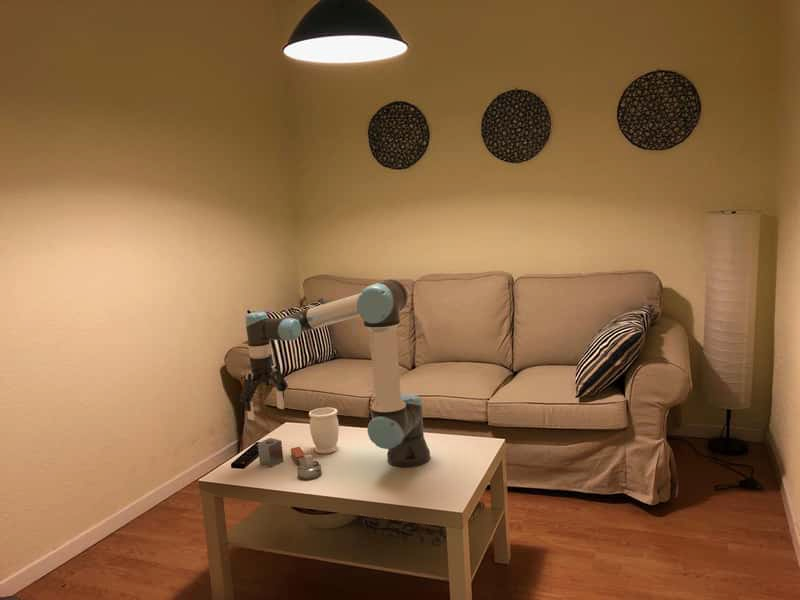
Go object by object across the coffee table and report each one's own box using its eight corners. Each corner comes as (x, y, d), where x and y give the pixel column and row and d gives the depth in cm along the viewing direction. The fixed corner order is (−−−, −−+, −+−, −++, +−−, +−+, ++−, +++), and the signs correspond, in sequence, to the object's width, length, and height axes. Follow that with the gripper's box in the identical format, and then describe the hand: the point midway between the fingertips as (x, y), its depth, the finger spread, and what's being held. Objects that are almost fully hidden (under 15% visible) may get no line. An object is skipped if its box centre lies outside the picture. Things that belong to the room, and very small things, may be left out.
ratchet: (324, 477, 233) (322, 457, 232) (301, 482, 230) (299, 462, 229) (306, 452, 257) (304, 434, 256) (285, 456, 254) (283, 438, 253)
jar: (343, 444, 262) (339, 406, 260) (337, 454, 252) (334, 415, 250) (315, 445, 263) (312, 407, 261) (309, 455, 253) (305, 416, 251)
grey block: (283, 461, 249) (281, 439, 248) (270, 467, 245) (268, 445, 243) (272, 458, 253) (270, 437, 252) (259, 464, 249) (257, 442, 247)
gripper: (280, 347, 255) (285, 402, 258) (224, 363, 236) (231, 422, 239) (293, 349, 250) (299, 405, 253) (238, 365, 231) (245, 425, 234)
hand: (266, 413), depth 246 cm, fingers open, 13 cm apart
